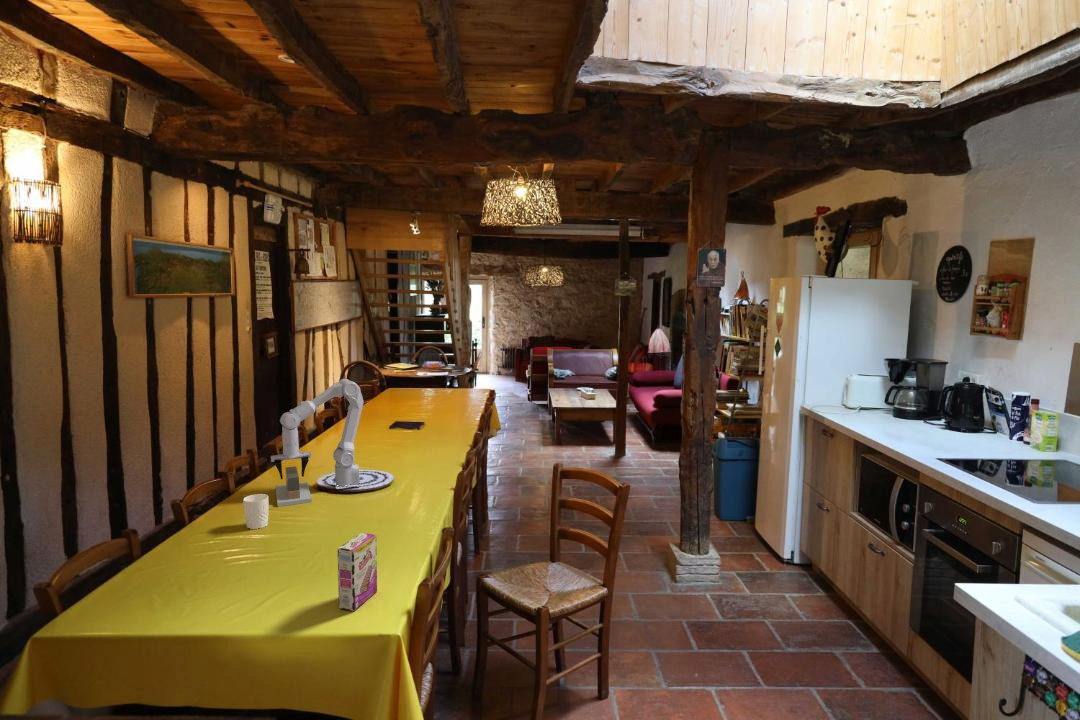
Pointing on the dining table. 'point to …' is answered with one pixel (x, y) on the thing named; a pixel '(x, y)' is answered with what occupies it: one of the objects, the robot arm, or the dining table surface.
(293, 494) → the display stand
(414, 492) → the dining table surface
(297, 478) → the gray rectangular block
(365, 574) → the candy bar box
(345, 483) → the robot arm
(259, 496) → the white cup
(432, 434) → the dining table surface
